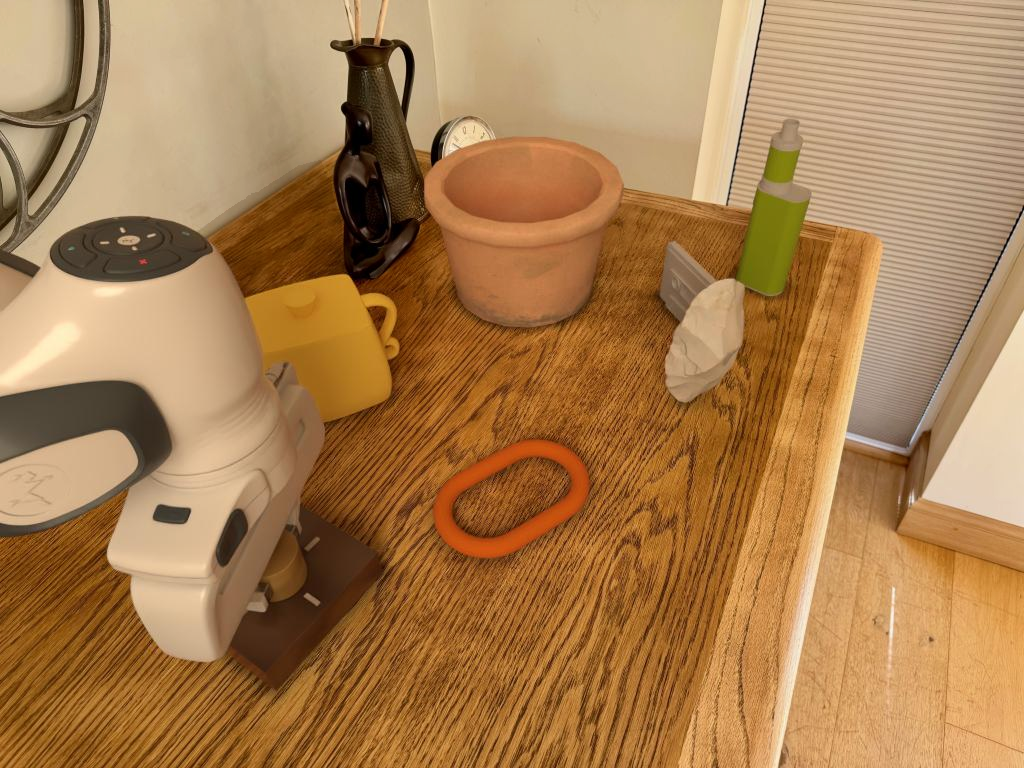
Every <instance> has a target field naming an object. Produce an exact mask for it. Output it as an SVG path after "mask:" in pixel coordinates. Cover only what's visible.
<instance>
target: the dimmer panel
mask: <svg viewBox="0 0 1024 768" xmlns="http://www.w3.org/2000/svg"><path fill="white" fill-rule="evenodd" d="M299 522H300V525H301V528H302V531H301V534H300V535H299V538H298V540H297V542H298V544H299V547H300V550H301V552H302V555H303V557H304V560H305V562H306V565H307V570H308V572H307V578H306V580H305V582H304V584H303V586H302V587H301V588H300V590H299V591H298V592H296V593H295V594H294V595H292V596H291V597H289V598H287V599H284V600H281V601H276V602H270V603H269V605H268V607H267V609H266V611H265V612H258V611H251V610H248V609H246V611H245V613H244V615H243V617H242V619H241V621H240V624H239V626H238V628H237V630H236V632H235V634H234V636H233V638H232V641H231V643H230V645H229V647H228V650H227V652H226V653H225V654H227V655H228V656H230V657H231V658H232V659H234V661H236V662H237V663H239V664H240V665H241V666H243V668H244V669H246V670H247V671H249V672H250V673H251V674H253V675H254V676H255V677H257V678H258V680H260V681H261V682H263V683H264V684H265V685H267V686H268V687H269V688H270V689H271V690H273V692H278V691H279V689H280V688H281V687H282V686H283V684H285V682H286V681H287V680H288V679H289V678H290V677H291V676H292V675H293V673H294V672H295V671H296V670H297V668H299V667H300V666H301V665H302V663H304V661H305V660H306V659H307V658H308V657H309V656H310V655H311V653H312V652H313V651H314V650H315V649H316V648H317V647H318V645H319V644H320V643H322V641H323V640H324V639H325V638H326V637H327V635H328V634H330V632H331V631H332V630H333V629H334V628H335V627H336V625H338V623H339V622H340V621H341V620H342V618H343V617H344V616H345V615H346V614H347V613H348V612H349V611H350V610H351V608H353V607H354V606H355V604H356V603H357V602H358V601H359V600H360V599H361V598H362V596H363V595H365V593H366V592H367V591H369V589H370V588H371V586H372V585H373V584H374V583H375V582H376V581H377V580H378V579H379V577H380V576H381V575H382V574H383V573H384V570H383V565H382V562H381V558H380V554H379V552H378V551H377V550H375V549H373V548H372V547H371V546H369V545H367V544H366V543H364V542H362V541H361V540H360V539H358V538H356V537H354V536H353V535H351V534H349V533H348V532H346V531H344V530H343V529H341V528H340V527H338V526H336V525H335V524H334V523H332V522H330V521H328V520H326V519H325V518H324V517H322V516H320V515H319V514H317V513H315V512H314V511H313V510H311V509H309V508H307V507H306V506H305V505H303V504H301V503H300V510H299Z"/></svg>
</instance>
